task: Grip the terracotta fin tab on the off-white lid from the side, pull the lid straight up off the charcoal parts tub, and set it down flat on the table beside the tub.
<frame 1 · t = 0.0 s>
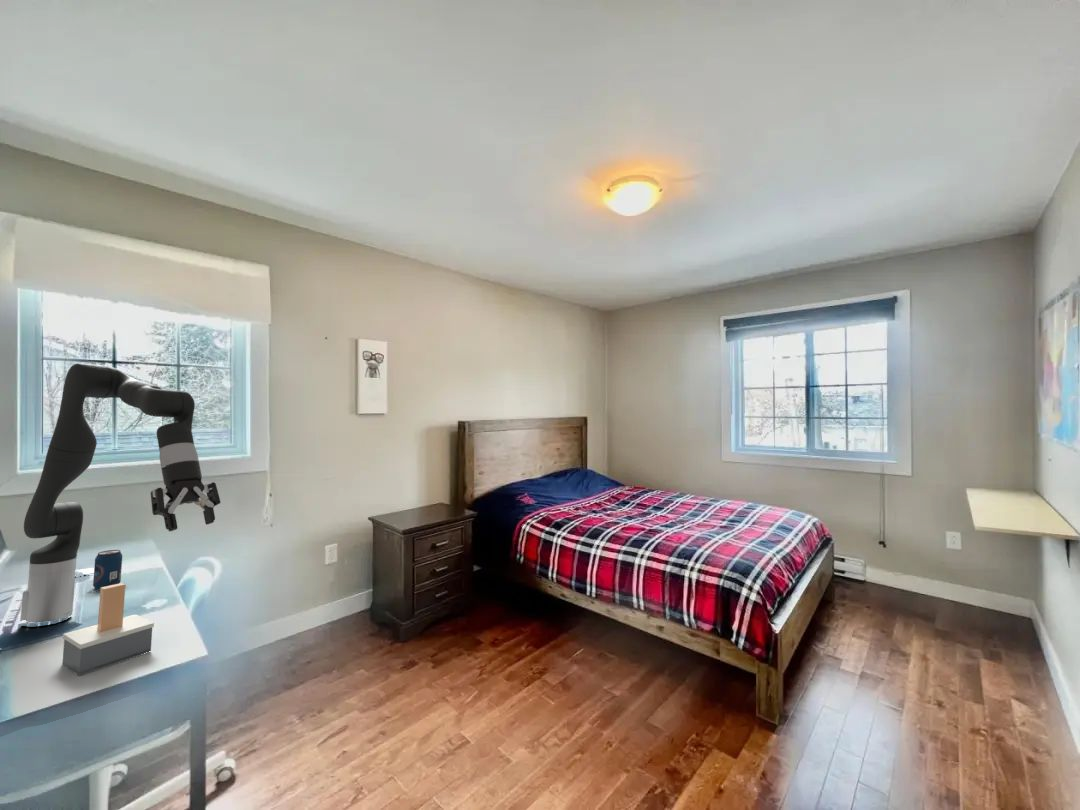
hand: (192, 526, 111), 31 cm above the table, tool tilted 20°, fingers open, 8 cm apart
external hard drive: (85, 575, 170), on the table
soda can: (106, 587, 157), on the table
lid: (109, 632, 109), point 6 cm above the table, touching tub
tub: (107, 658, 109), on the table
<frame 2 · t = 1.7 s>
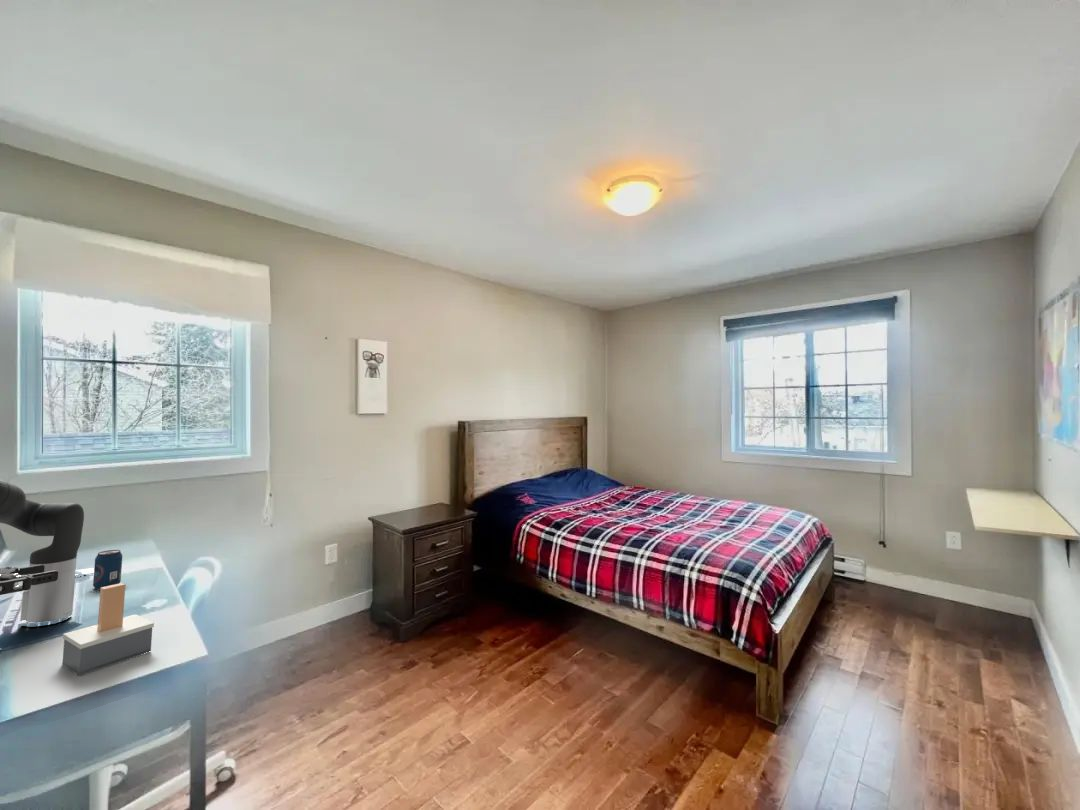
hand: (50, 572, 101), 23 cm above the table, tool horizontal, fingers open, 8 cm apart
nothing on the table moved.
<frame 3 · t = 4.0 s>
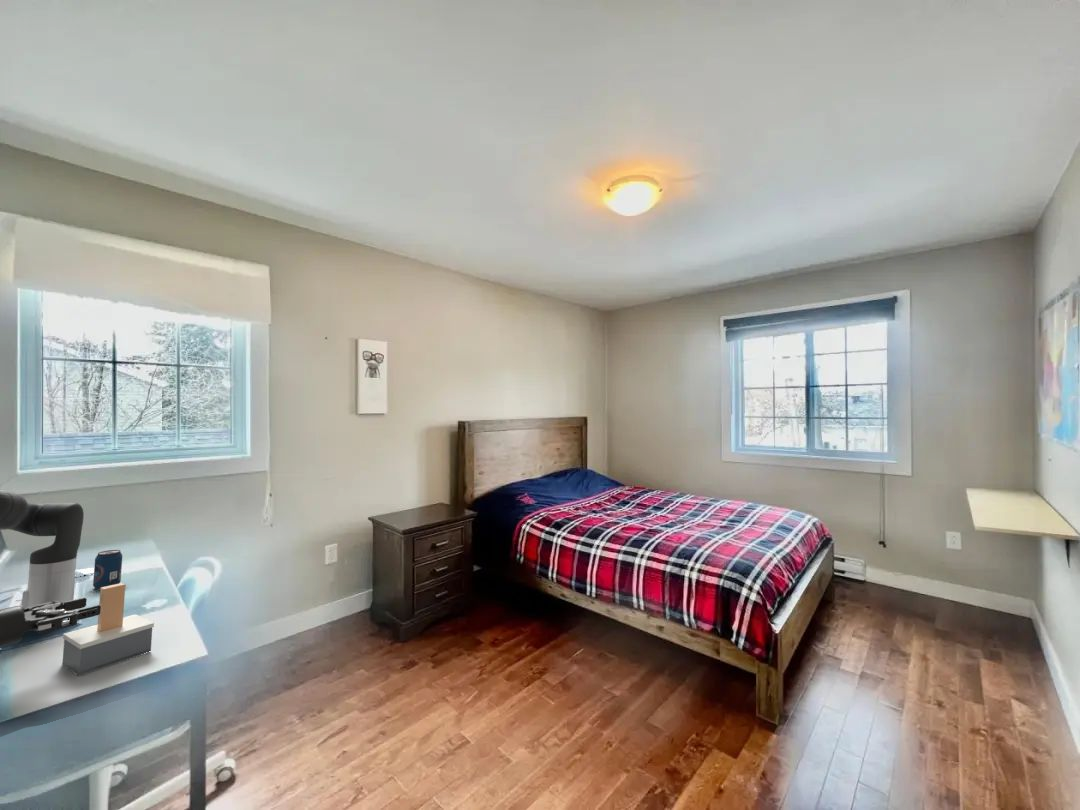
hand: (92, 605, 107), 13 cm above the table, tool horizontal, fingers open, 8 cm apart
nothing on the table moved.
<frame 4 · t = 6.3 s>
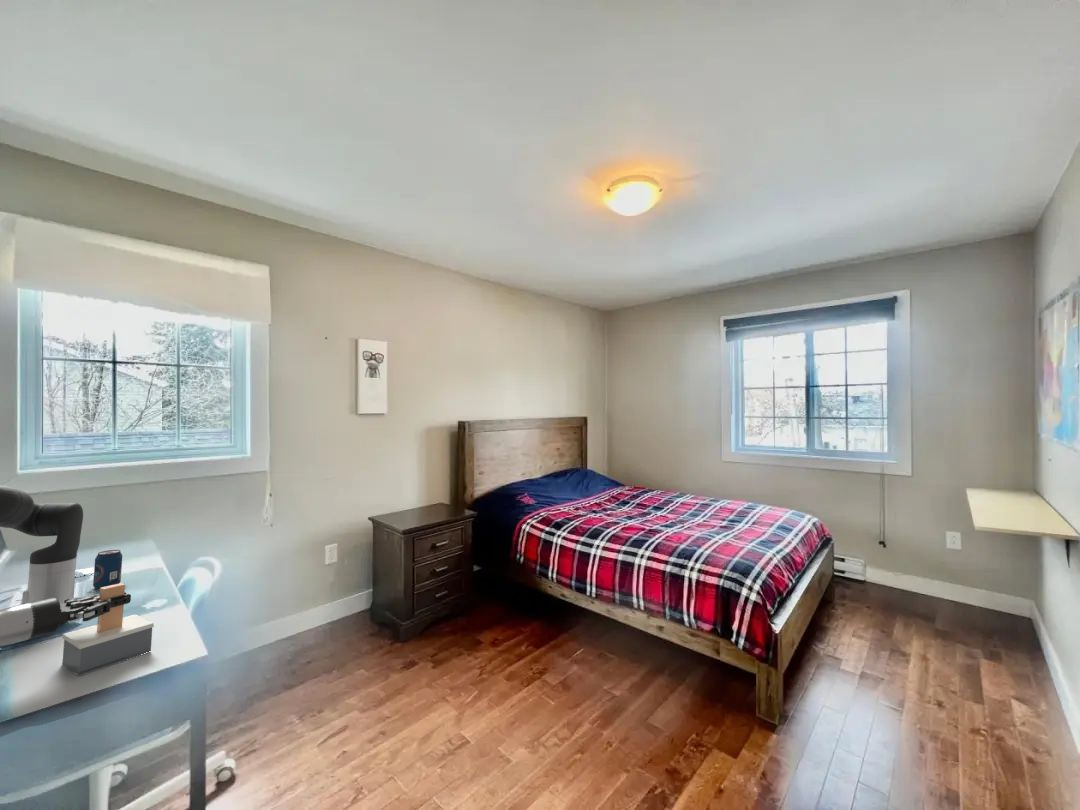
hand: (127, 597, 112), 13 cm above the table, tool horizontal, fingers closed on lid
lid: (109, 632, 109), point 6 cm above the table, touching gripper
everything else where it was.
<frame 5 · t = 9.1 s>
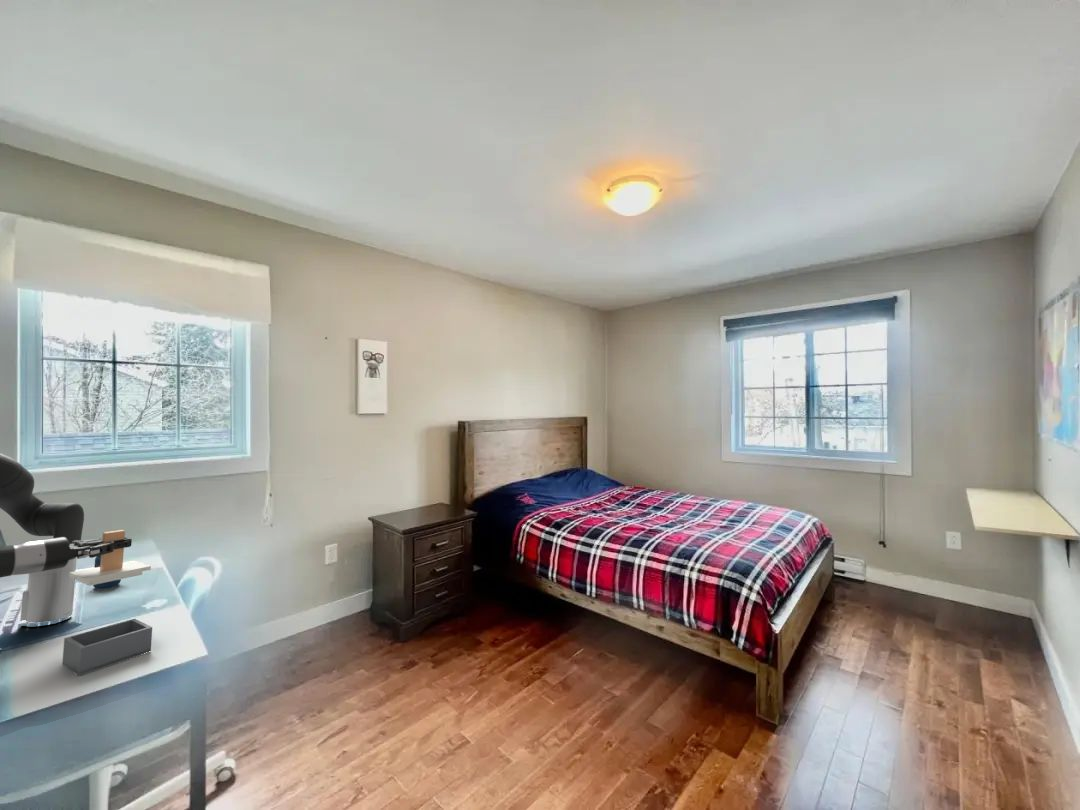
hand: (128, 541, 125), 24 cm above the table, tool horizontal, fingers closed on lid
lid: (110, 572, 122), point 16 cm above the table, touching gripper
everything else where it was.
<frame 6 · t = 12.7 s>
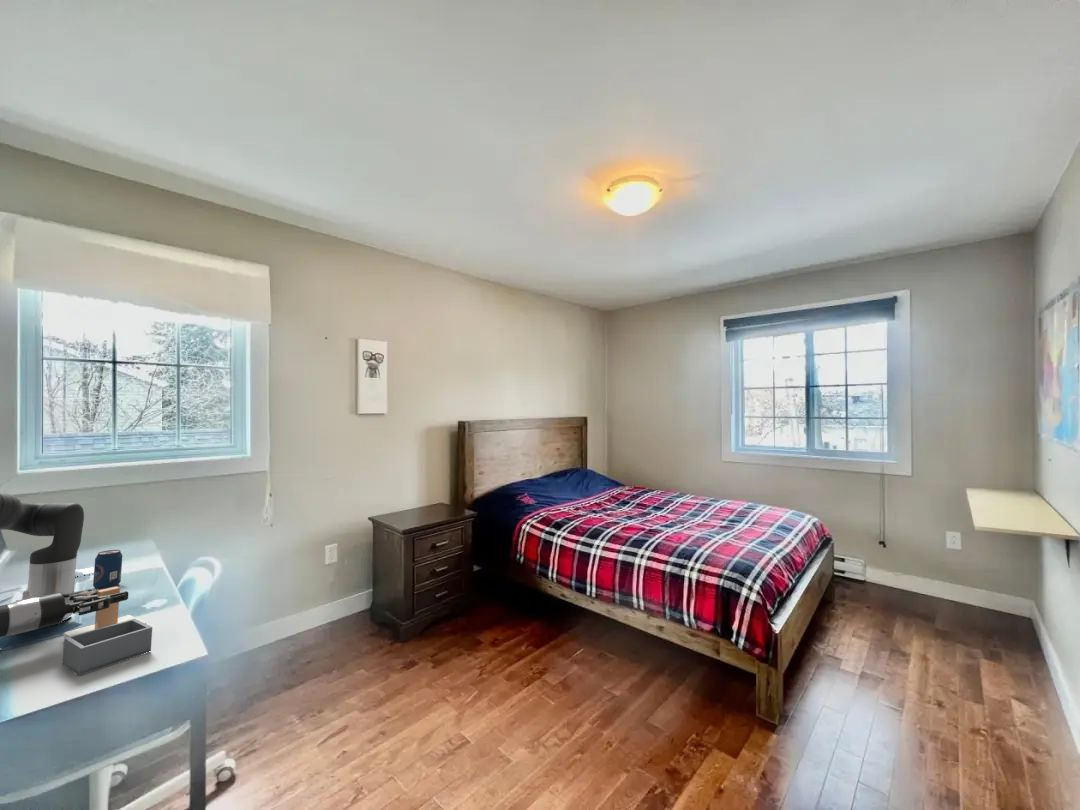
hand: (121, 592, 124), 10 cm above the table, tool horizontal, fingers open, 6 cm apart
lid: (105, 631, 121), point 1 cm above the table
everything else where it was.
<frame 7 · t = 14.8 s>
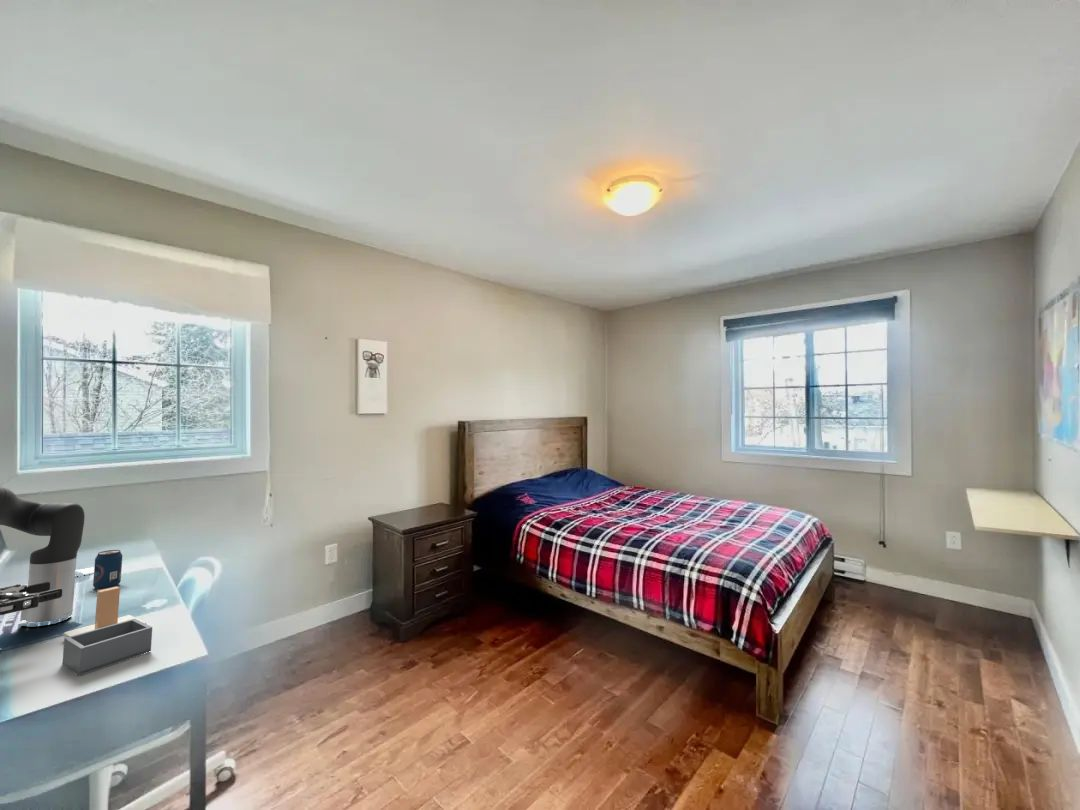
hand: (55, 589, 113), 15 cm above the table, tool horizontal, fingers open, 8 cm apart
nothing on the table moved.
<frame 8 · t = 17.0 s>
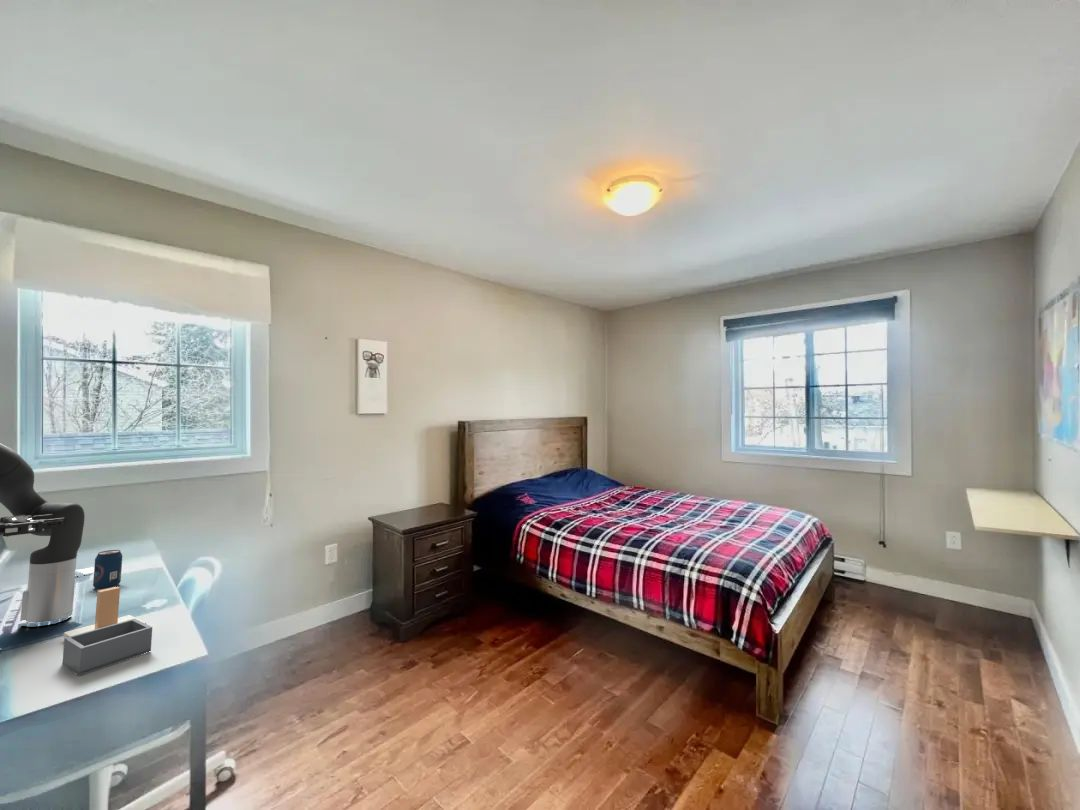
hand: (59, 520, 114), 32 cm above the table, tool horizontal, fingers open, 8 cm apart
nothing on the table moved.
at the end: lid touching table; lid inside the target area (1.1 cm from its centre), point 1.0 cm above the table; lid tilted 0° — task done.
